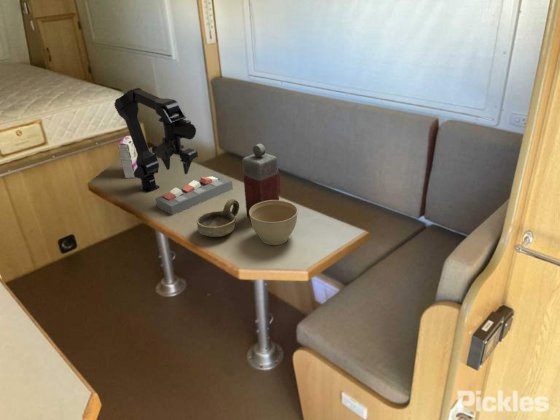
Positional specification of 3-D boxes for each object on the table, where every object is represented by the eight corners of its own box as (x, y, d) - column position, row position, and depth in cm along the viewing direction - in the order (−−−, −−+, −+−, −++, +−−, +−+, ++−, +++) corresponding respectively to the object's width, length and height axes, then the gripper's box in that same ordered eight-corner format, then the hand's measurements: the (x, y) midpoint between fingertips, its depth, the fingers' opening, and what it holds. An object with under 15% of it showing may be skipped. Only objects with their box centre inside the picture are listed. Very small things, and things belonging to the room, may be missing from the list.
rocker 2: (183, 192, 192) (182, 188, 191) (195, 183, 195) (193, 179, 194) (189, 194, 190) (187, 191, 189) (201, 185, 193) (199, 182, 192)
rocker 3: (200, 181, 197) (200, 177, 196) (212, 180, 202) (212, 176, 201) (205, 183, 195) (206, 179, 194) (217, 182, 199) (218, 178, 199)
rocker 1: (165, 200, 187) (163, 196, 186) (177, 190, 190) (175, 187, 189) (170, 202, 184) (168, 199, 183) (182, 193, 187) (181, 189, 186)
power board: (156, 206, 187) (155, 197, 185) (216, 181, 206) (215, 173, 204) (172, 215, 180) (171, 205, 178) (232, 188, 199) (231, 180, 197)
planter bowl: (305, 245, 157) (304, 217, 152) (257, 255, 154) (255, 226, 148) (290, 223, 171) (289, 196, 166) (246, 231, 167) (244, 204, 162)
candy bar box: (131, 168, 223) (124, 135, 215) (142, 168, 223) (135, 135, 215) (124, 178, 213) (117, 144, 205) (135, 178, 213) (128, 143, 205)
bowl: (189, 234, 167) (185, 209, 162) (227, 216, 178) (225, 192, 173) (214, 248, 158) (210, 222, 154) (252, 228, 169) (250, 203, 164)
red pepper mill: (284, 212, 179) (281, 141, 166) (263, 223, 172) (258, 151, 158) (267, 205, 184) (263, 136, 171) (246, 216, 177) (240, 145, 164)
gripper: (138, 136, 177) (145, 174, 185) (176, 145, 169) (181, 184, 176) (159, 127, 185) (164, 164, 193) (196, 135, 177) (200, 173, 185)
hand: (177, 171), depth 187 cm, fingers open, 9 cm apart
